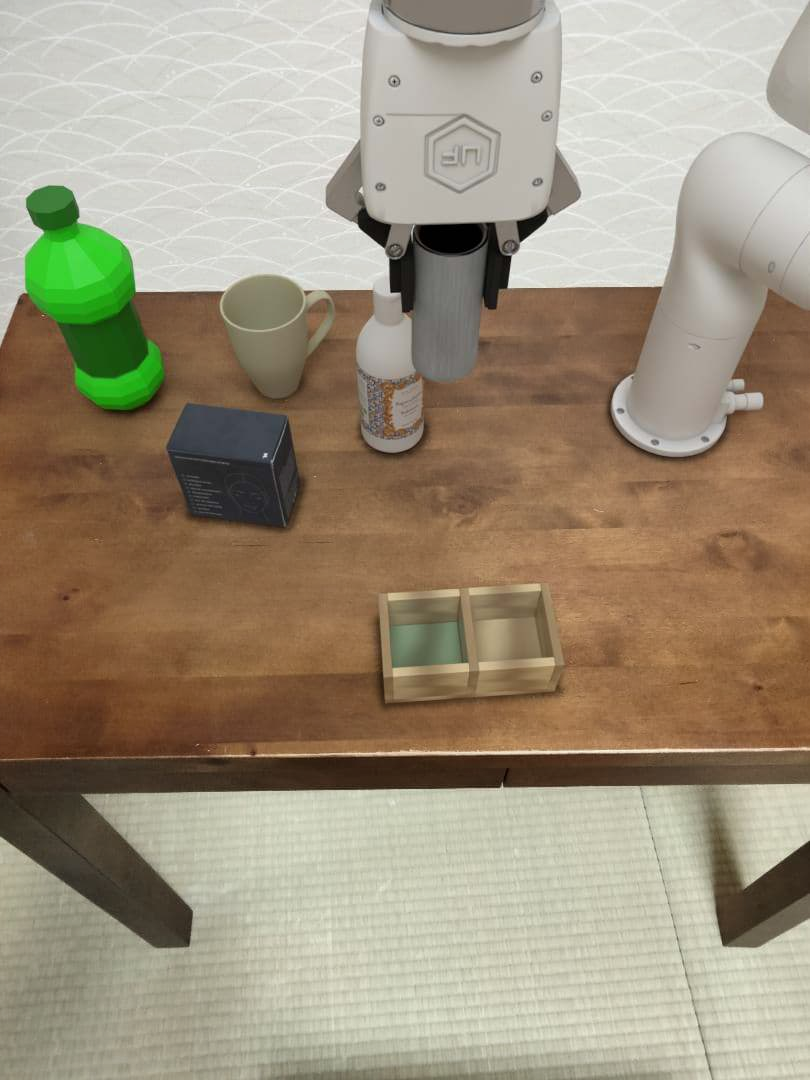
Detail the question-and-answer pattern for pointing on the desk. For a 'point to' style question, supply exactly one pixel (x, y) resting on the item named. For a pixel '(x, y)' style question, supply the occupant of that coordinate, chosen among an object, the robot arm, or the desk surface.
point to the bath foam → (388, 376)
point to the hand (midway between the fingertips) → (447, 294)
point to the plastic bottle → (91, 302)
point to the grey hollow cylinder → (447, 298)
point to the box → (235, 464)
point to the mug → (272, 329)
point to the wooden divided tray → (469, 642)
